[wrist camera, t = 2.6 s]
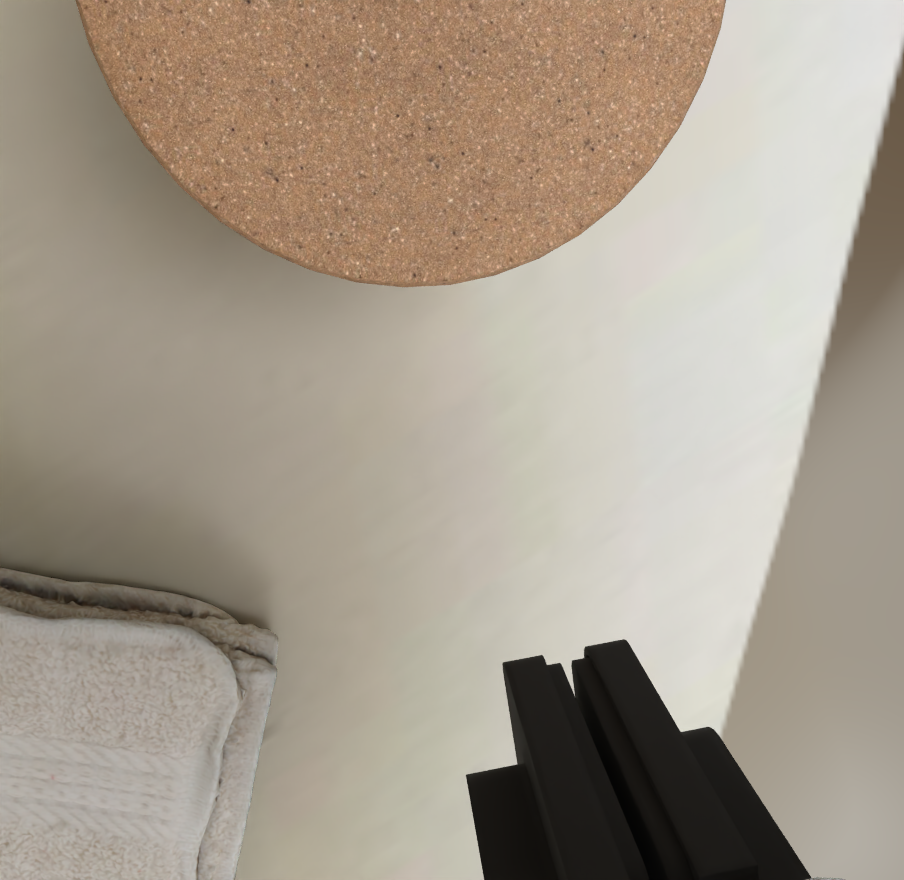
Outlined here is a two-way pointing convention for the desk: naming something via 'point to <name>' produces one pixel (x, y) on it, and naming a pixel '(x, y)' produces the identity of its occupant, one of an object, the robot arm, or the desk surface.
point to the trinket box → (405, 119)
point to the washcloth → (125, 731)
